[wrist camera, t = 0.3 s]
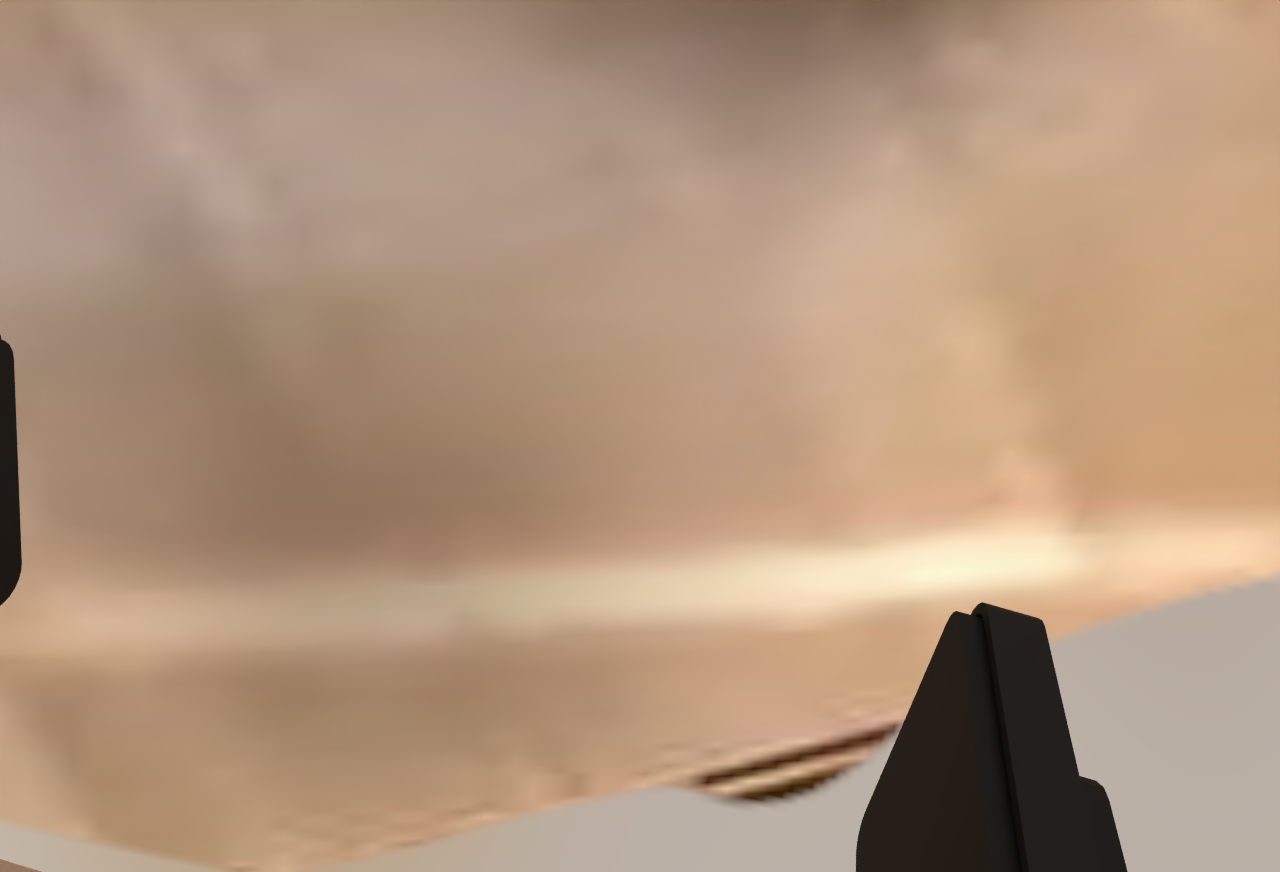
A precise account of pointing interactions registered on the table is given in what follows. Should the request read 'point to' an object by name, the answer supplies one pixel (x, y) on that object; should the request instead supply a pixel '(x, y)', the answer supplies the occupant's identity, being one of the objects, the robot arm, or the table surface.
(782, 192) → the table surface
